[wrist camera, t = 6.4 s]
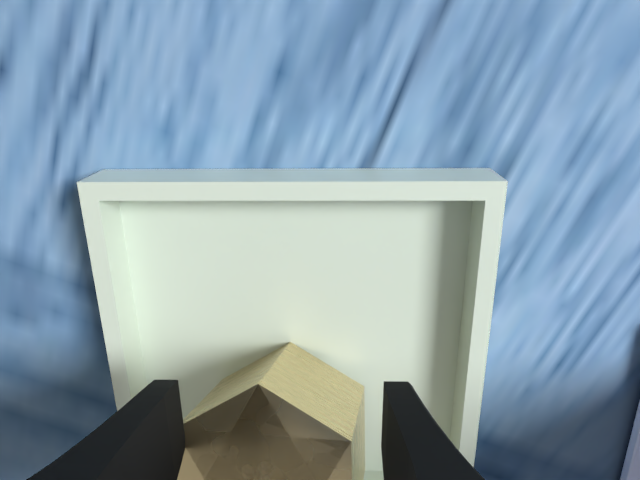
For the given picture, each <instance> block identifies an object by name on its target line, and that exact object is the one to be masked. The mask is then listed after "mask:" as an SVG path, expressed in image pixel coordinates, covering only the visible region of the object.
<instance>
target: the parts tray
mask: <svg viewBox="0 0 640 480" xmlns="http://www.w3.org/2000/svg"><path fill="white" fill-rule="evenodd" d="M507 183H508V181H507V180H505V179H504V178H503V177H501V176H500V175H498V174H497V173H496V172H494V171H493V170H492V169H490V168H328V169H103V170H101V171H99V172H97V173H95V174H93V175H90V176H88V177H86V178H84V179H82V180H80V181H78V182H77V187H78V193H79V198H80V204H81V210H82V215H83V221H84V227H85V232H86V238H87V244H88V249H89V255H90V260H91V266H92V272H93V277H94V283H95V289H96V294H97V300H98V306H99V311H100V317H101V323H102V328H103V334H104V340H105V345H106V351H107V356H108V362H109V368H110V373H111V379H112V385H113V390H114V396H115V402H116V407H117V411H118V410H119V409H121V408H122V407H123V406H124V405H125V404H126V403H128V402H129V401H130V400H131V399H132V398H133V397H134V396H136V395H137V394H138V393H139V392H140V391H141V390H142V389H144V388H145V387H146V386H147V385H148V384H150V383H151V382H152V381H153V380H178V384H179V392H180V400H181V408H182V416H183V419H184V418H185V417H186V416H187V415H188V414H189V413H190V412H191V411H192V410H193V409H194V408H195V407H196V406H197V405H198V404H199V403H200V402H201V401H202V400H203V399H204V398H205V397H206V396H207V395H208V394H209V393H210V391H211V390H212V389H213V388H214V387H215V386H216V385H217V384H218V383H219V382H220V381H221V380H222V379H224V378H225V377H227V376H229V375H231V374H233V373H235V372H236V371H238V370H240V369H242V368H244V367H246V366H247V365H249V364H251V363H253V362H255V361H256V360H258V359H260V358H262V357H264V356H266V355H267V354H269V353H271V352H273V351H275V350H277V349H278V348H280V347H282V346H284V345H286V344H287V343H289V342H292V343H293V344H295V345H297V346H298V347H300V348H302V349H303V350H305V351H307V352H308V353H310V354H312V355H313V356H315V357H317V358H318V359H320V360H322V361H323V362H325V363H326V364H328V365H330V366H331V367H333V368H335V369H336V370H338V371H340V372H341V373H343V374H345V375H346V376H348V377H350V378H351V379H353V380H355V381H356V382H358V383H360V384H361V385H363V386H364V399H365V473H364V479H363V480H384V476H383V464H382V452H381V437H382V411H383V386H384V381H405V382H409V383H410V384H411V385H412V386H413V388H414V390H415V391H416V393H417V394H418V396H419V398H420V399H421V401H422V402H423V404H424V405H425V407H426V408H427V410H428V411H429V413H430V414H431V415H432V417H433V418H434V420H435V421H436V422H437V424H438V425H439V426H440V428H441V429H442V430H443V432H444V433H445V434H446V435H447V437H448V438H449V439H450V441H451V442H452V443H453V444H454V446H455V447H456V448H457V449H458V450H459V452H460V453H461V454H462V455H463V456H464V457H465V458H466V460H467V461H468V462H469V463H470V464H471V465H472V466H473V467H474V461H475V452H476V444H477V436H478V427H479V419H480V410H481V402H482V393H483V385H484V377H485V368H486V360H487V351H488V343H489V334H490V326H491V318H492V309H493V301H494V292H495V284H496V275H497V267H498V259H499V250H500V242H501V233H502V225H503V216H504V208H505V200H506V191H507Z"/></svg>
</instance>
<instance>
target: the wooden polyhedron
mask: <svg viewBox="0 0 640 480" xmlns="http://www.w3.org/2000/svg"><path fill="white" fill-rule="evenodd" d="M183 424H184V432H185V451H184V455H183V459H182V463H181V467H180V471H179V474H178V478H177V480H363V479H364V473H365V399H364V386H363V385H361V384H360V383H358V382H356V381H355V380H353V379H351V378H350V377H348V376H346V375H345V374H343V373H341V372H340V371H338V370H336V369H335V368H333V367H331V366H330V365H328V364H326V363H325V362H323V361H322V360H320V359H318V358H317V357H315V356H313V355H312V354H310V353H308V352H307V351H305V350H303V349H302V348H300V347H298V346H297V345H295V344H293V343H292V342H289V343H287V344H286V345H284V346H282V347H280V348H278V349H277V350H275V351H273V352H271V353H269V354H267V355H266V356H264V357H262V358H260V359H258V360H256V361H255V362H253V363H251V364H249V365H247V366H246V367H244V368H242V369H240V370H238V371H236V372H235V373H233V374H231V375H229V376H227V377H225V378H224V379H222V380H221V381H220V382H219V383H218V384H217V385H216V386H215V387H214V388H213V389H212V390H211V391H210V393H209V394H208V395H207V396H206V397H205V398H204V399H203V400H202V401H201V402H200V403H199V404H198V405H197V406H196V407H195V408H194V409H193V410H192V411H191V412H190V413H189V414H188V415H187V416H186V417H185V418H184V419H183Z"/></svg>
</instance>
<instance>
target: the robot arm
mask: <svg viewBox="0 0 640 480" xmlns="http://www.w3.org/2000/svg"><path fill="white" fill-rule="evenodd" d="M184 451H185V432H184V424H183V416H182V408H181V400H180V392H179V384H178V380H153V381H152V382H151V383H150V384H148V385H147V386H146V387H145V388H144V389H142V390H141V391H140V392H139V393H138V394H137V395H136V396H134V397H133V398H132V399H131V400H130V401H129V402H128V403H126V404H125V405H124V406H123V407H122V408H121V409H119V410H118V411H117V412H116V413H115V414H113V415H112V416H111V417H110V418H109V419H108V420H106V421H105V422H104V423H103V424H102V425H100V426H99V427H98V428H97V429H96V430H94V431H93V432H92V433H90V434H89V435H88V436H87V437H85V438H84V439H83V440H81V441H80V442H79V443H78V444H76V445H75V446H74V447H72V448H71V449H70V450H68V451H67V452H66V453H65V454H63V455H62V456H61V457H59V458H58V459H56V460H55V461H54V462H52V463H51V464H49V465H48V466H46V467H45V468H44V469H42V470H41V471H39V472H38V473H36V474H34V475H33V476H31V477H30V478H28V479H27V480H177V478H178V474H179V471H180V467H181V463H182V459H183V455H184ZM381 452H382V464H383V476H384V480H485V479H484V478H483V477H482V476H481V475H480V474H479V473H478V472H477V471H476V470H475V469H474V467H473V466H472V465H471V464H470V463H469V462H468V461H467V460H466V458H465V457H464V456H463V455H462V454H461V453H460V452H459V450H458V449H457V448H456V447H455V446H454V444H453V443H452V442H451V441H450V439H449V438H448V437H447V435H446V434H445V433H444V432H443V430H442V429H441V428H440V426H439V425H438V424H437V422H436V421H435V420H434V418H433V417H432V415H431V414H430V413H429V411H428V410H427V408H426V407H425V405H424V404H423V402H422V401H421V399H420V398H419V396H418V394H417V393H416V391H415V390H414V388H413V386H412V385H411V384H410V383H409V382H405V381H384V386H383V411H382V437H381ZM620 480H640V401H639V405H638V409H637V413H636V417H635V421H634V425H633V429H632V433H631V437H630V441H629V445H628V449H627V454H626V458H625V462H624V466H623V470H622V474H621V478H620Z"/></svg>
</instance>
